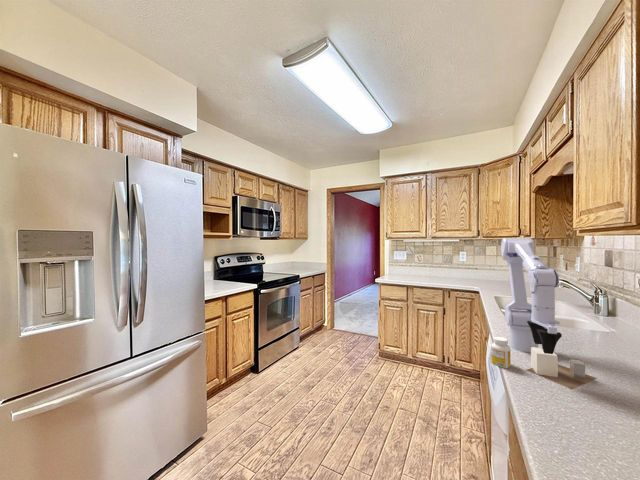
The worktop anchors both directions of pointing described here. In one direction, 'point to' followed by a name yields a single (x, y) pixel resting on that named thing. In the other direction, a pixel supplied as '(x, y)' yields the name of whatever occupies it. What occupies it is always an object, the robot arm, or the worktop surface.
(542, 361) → the cream rectangular block
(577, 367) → the post
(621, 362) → the worktop surface
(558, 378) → the board
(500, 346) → the supplement bottle
